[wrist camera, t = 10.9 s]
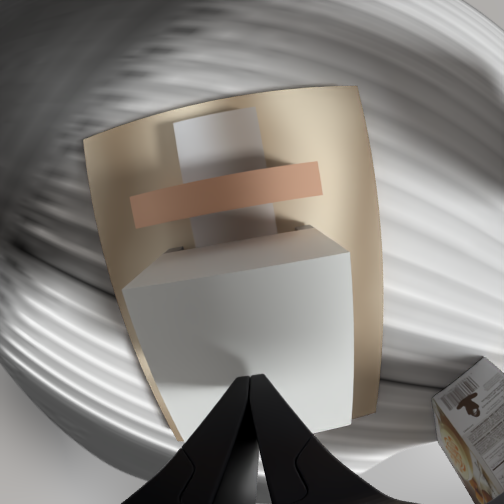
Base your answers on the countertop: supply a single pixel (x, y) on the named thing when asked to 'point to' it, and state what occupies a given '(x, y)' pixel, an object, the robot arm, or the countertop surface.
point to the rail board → (245, 195)
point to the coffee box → (474, 429)
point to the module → (250, 324)
